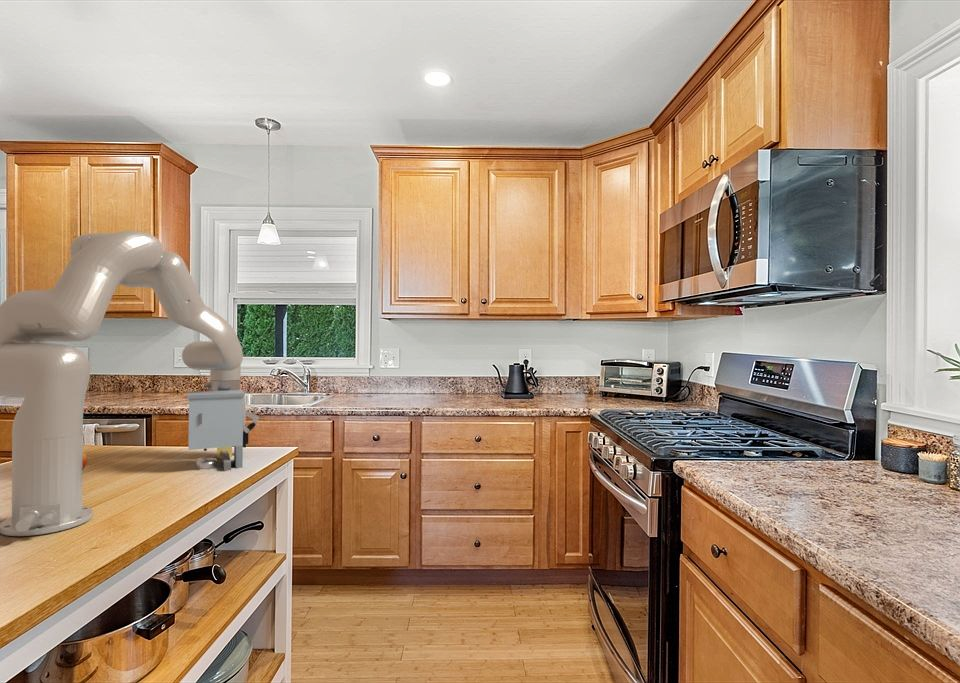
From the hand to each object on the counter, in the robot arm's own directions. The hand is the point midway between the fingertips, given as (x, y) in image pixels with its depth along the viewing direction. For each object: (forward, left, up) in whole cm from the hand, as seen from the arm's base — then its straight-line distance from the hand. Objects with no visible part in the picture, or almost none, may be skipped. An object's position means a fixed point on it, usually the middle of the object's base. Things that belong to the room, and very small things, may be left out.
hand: (224, 448), depth 143 cm
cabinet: (-11, +3, -2) cm, 12 cm away
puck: (-11, +5, -2) cm, 12 cm away
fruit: (-7, +34, -2) cm, 34 cm away
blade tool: (-8, 0, -2) cm, 8 cm away
